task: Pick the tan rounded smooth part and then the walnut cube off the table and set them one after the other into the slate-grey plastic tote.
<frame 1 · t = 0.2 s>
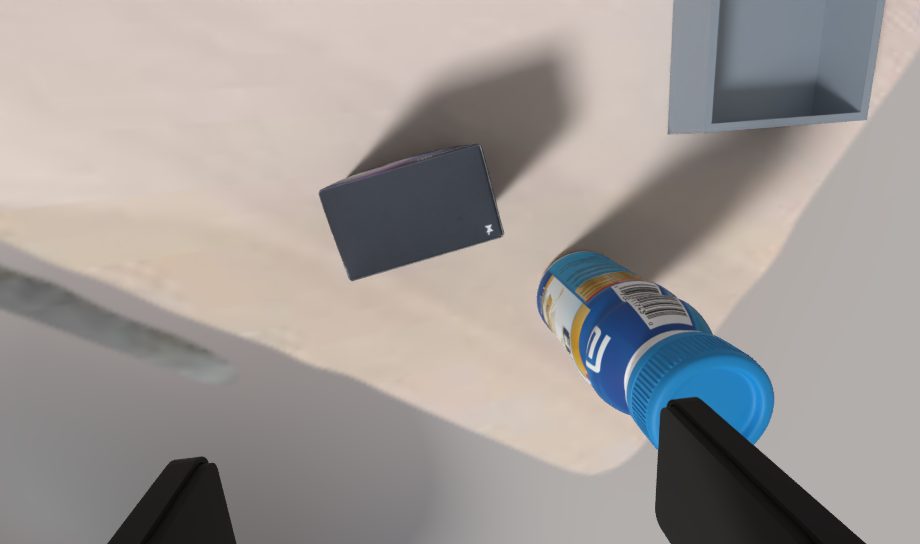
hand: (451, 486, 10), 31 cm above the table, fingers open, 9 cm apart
beverage bottle: (577, 292, 43), on the table
tote: (751, 4, 37), on the table
small box: (414, 196, 39), on the table
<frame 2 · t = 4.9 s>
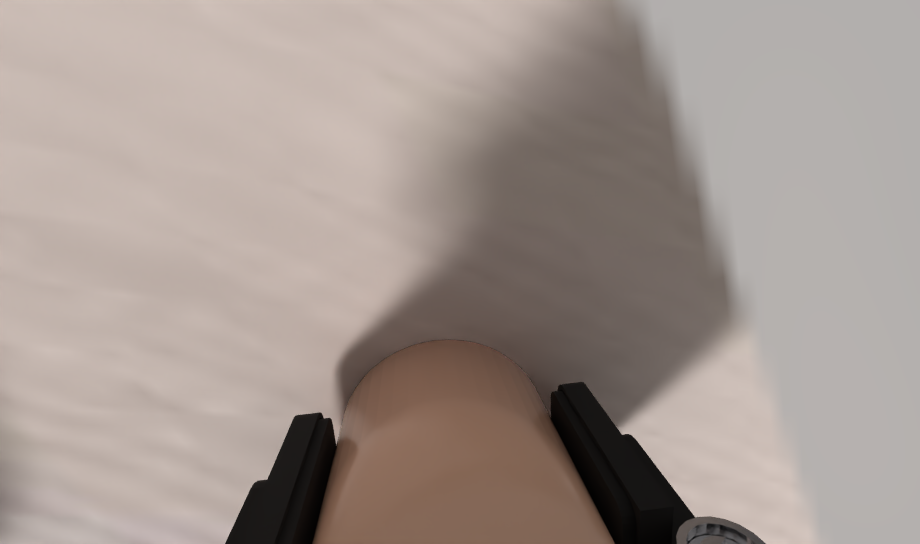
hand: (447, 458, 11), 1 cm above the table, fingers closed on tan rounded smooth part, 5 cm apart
tan rounded smooth part: (444, 433, 12), on the table, touching gripper
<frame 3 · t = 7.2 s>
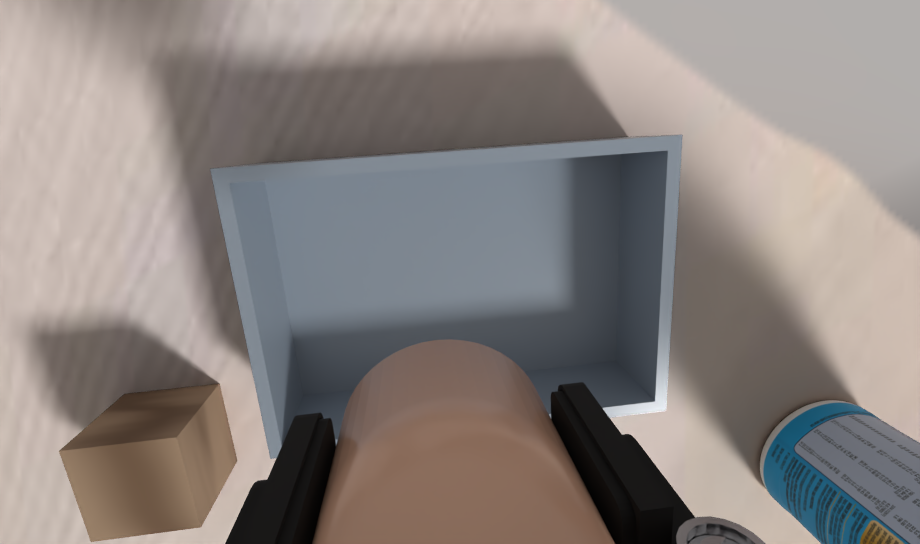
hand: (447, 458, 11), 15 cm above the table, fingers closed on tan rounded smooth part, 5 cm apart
beverage bottle: (809, 448, 31), on the table
tote: (455, 274, 25), on the table
tan rounded smooth part: (444, 433, 12), point 14 cm above the table, touching gripper
walnut cube: (183, 427, 26), on the table
when the fingers open (3 cm above the table, at t = 9.9 s): tan rounded smooth part drops 1 cm, resting on tote.
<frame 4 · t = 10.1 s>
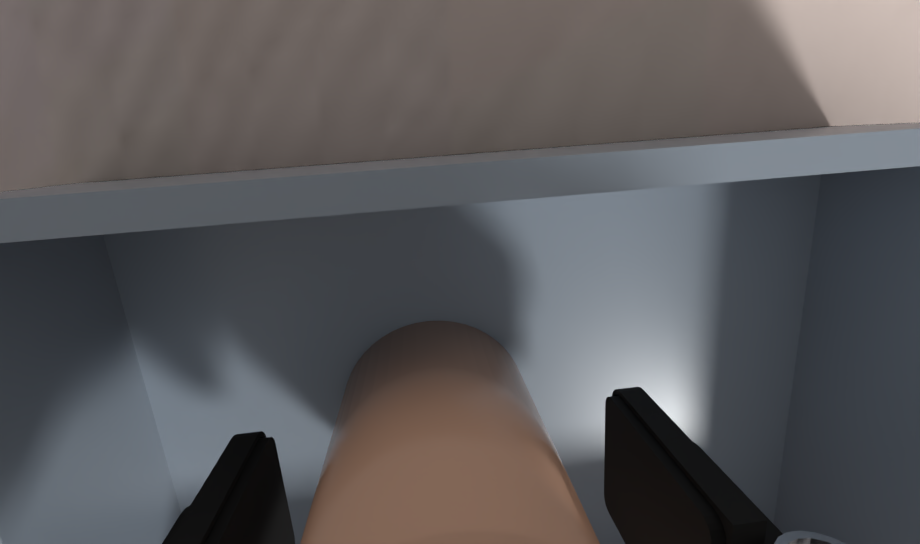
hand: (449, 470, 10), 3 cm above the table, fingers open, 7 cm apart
tote: (491, 387, 14), on the table
tan rounded smooth part: (435, 405, 13), point 1 cm above the table, touching tote
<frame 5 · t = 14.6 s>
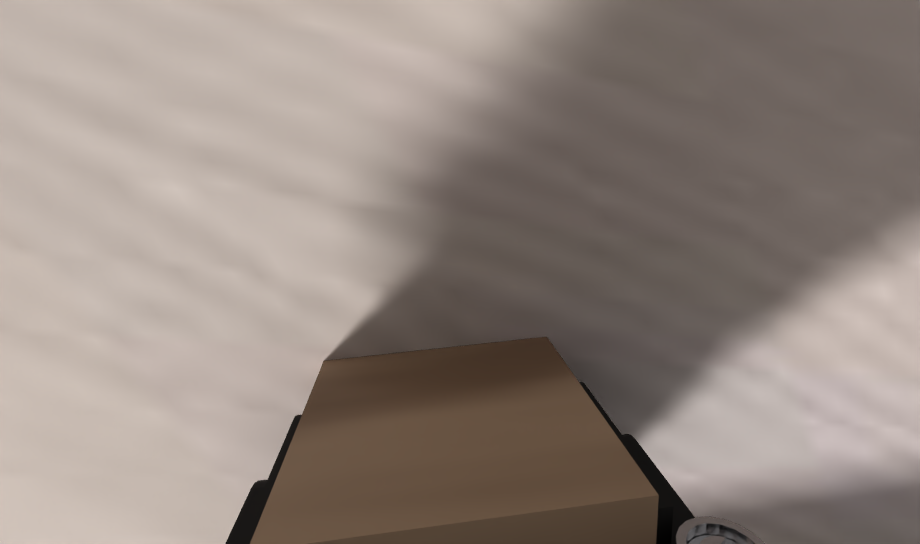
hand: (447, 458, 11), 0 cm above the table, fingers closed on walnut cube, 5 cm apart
walnut cube: (446, 444, 11), on the table, touching gripper
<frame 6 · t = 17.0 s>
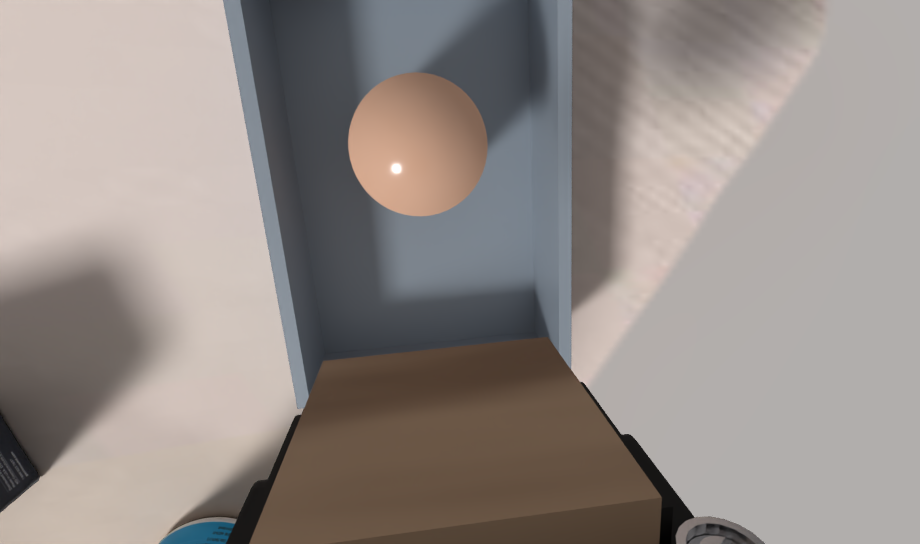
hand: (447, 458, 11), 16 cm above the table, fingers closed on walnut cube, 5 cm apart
tote: (417, 182, 25), on the table
tan rounded smooth part: (414, 149, 24), point 1 cm above the table, touching tote
walnut cube: (446, 445, 11), point 16 cm above the table, touching gripper
when the fingers open (5 cm above the table, at t = 19.5 s): walnut cube drops 4 cm, resting on tote.
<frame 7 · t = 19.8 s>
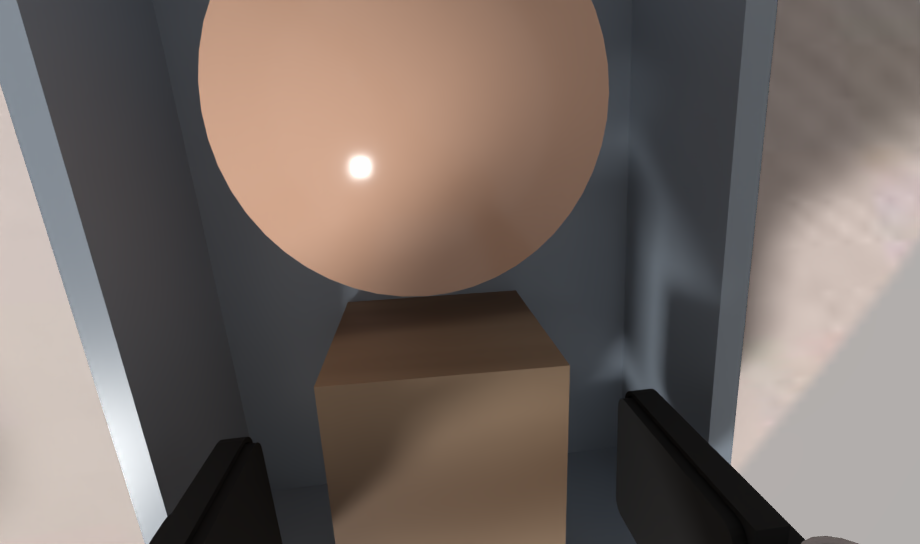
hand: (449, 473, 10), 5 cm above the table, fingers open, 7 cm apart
tote: (421, 195, 14), on the table
tan rounded smooth part: (413, 135, 13), point 1 cm above the table, touching tote
walnut cube: (437, 372, 15), resting on tote
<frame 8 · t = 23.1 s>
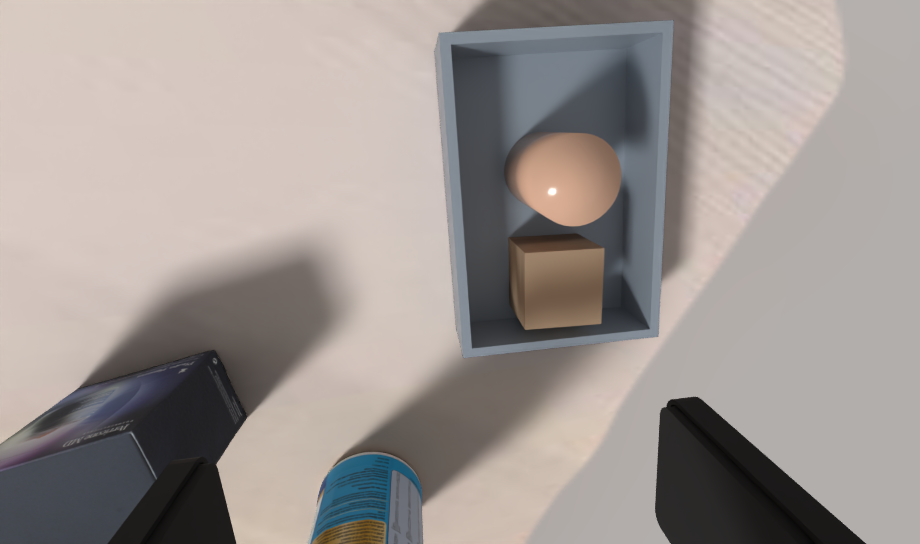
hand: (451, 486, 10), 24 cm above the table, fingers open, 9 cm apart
beverage bottle: (372, 489, 38), on the table
tote: (538, 193, 33), on the table
small box: (165, 400, 34), on the table
tan rounded smooth part: (539, 169, 32), point 1 cm above the table, touching tote
walnut cube: (542, 269, 34), resting on tote
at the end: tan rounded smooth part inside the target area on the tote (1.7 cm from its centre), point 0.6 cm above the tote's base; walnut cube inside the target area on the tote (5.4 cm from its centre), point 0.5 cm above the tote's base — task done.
